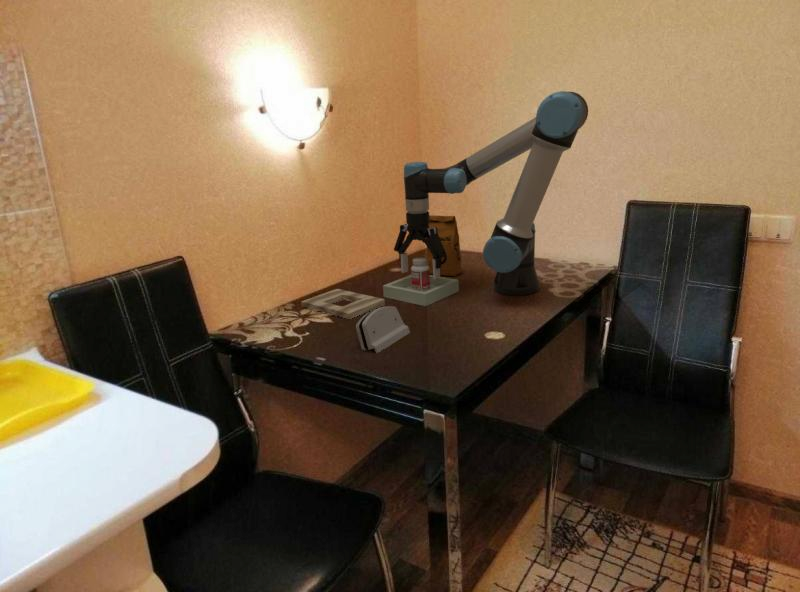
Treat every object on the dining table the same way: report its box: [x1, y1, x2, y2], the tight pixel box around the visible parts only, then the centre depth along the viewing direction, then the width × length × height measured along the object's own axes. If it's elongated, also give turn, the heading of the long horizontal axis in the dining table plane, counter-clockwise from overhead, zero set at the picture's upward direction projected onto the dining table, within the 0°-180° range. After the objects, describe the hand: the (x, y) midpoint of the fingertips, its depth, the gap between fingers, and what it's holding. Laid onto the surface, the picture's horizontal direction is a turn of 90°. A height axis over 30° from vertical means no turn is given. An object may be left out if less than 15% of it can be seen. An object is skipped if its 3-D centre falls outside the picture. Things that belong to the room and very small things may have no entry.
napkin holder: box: [355, 305, 411, 354], centre depth 160 cm, size 17×5×10 cm, turn 147°
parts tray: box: [382, 274, 460, 307], centre depth 198 cm, size 18×18×4 cm
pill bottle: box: [410, 257, 431, 292], centre depth 196 cm, size 6×6×11 cm
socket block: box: [301, 288, 386, 320], centre depth 190 cm, size 22×16×2 cm
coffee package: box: [426, 214, 462, 277], centre depth 217 cm, size 10×12×22 cm
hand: (420, 275), depth 196 cm, fingers open, 13 cm apart
